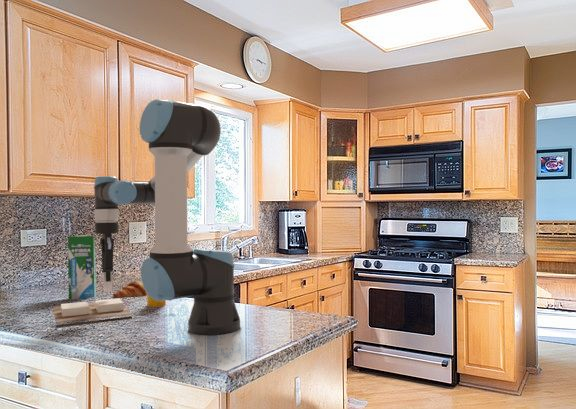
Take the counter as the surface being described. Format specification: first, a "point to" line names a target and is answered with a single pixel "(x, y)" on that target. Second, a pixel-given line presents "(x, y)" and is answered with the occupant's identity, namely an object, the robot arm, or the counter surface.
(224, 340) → the counter surface
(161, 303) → the beer can
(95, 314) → the board
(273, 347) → the counter surface
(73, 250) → the milk carton
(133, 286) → the croissant
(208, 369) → the counter surface
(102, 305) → the tile
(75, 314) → the tile
